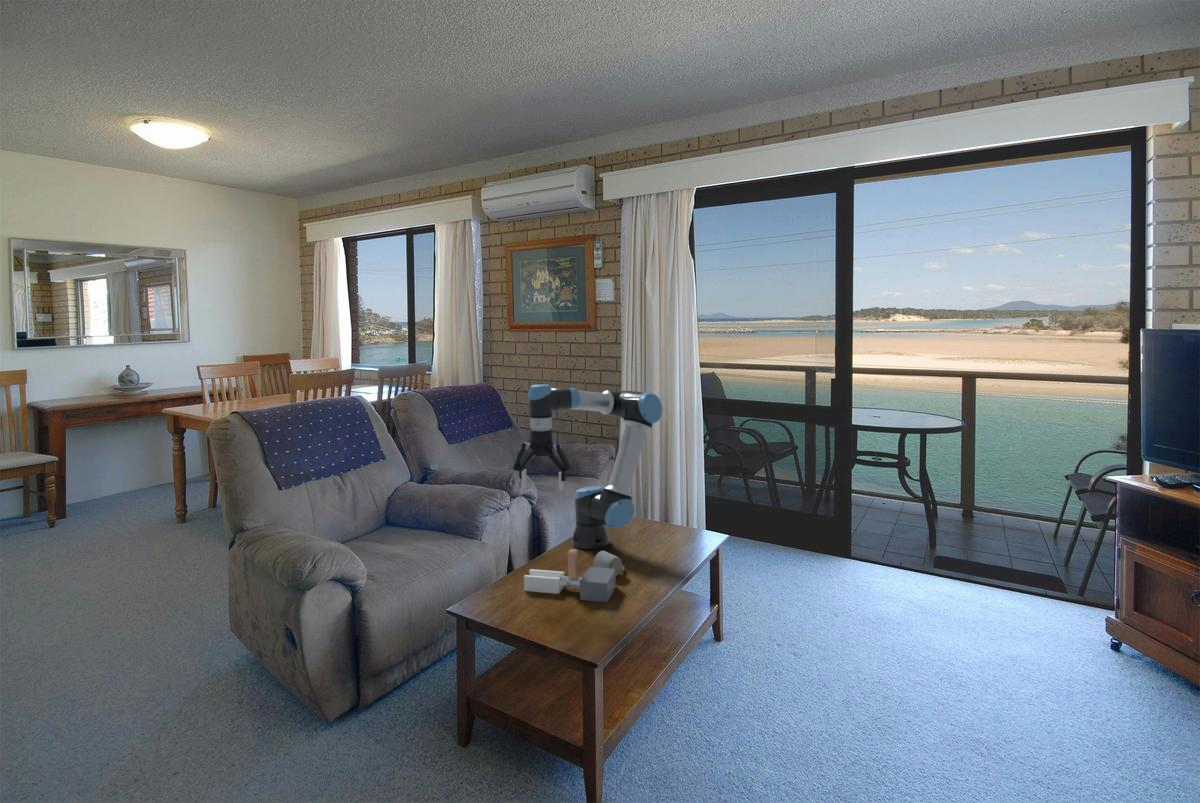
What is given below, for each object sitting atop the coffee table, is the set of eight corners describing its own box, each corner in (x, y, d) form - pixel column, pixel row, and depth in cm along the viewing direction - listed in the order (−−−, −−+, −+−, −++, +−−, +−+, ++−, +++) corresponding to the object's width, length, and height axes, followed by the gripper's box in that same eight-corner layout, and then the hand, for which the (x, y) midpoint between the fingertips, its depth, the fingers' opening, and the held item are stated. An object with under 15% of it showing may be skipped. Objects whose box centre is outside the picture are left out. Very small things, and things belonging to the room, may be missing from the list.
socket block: (589, 584, 208) (589, 566, 207) (615, 586, 206) (615, 568, 205) (580, 599, 196) (579, 581, 195) (607, 602, 194) (607, 583, 193)
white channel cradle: (531, 583, 210) (530, 569, 209) (564, 586, 207) (564, 571, 206) (524, 590, 204) (523, 576, 203) (558, 593, 201) (558, 579, 200)
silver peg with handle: (560, 583, 206) (559, 548, 204) (606, 587, 202) (606, 551, 200) (557, 587, 202) (556, 551, 201) (604, 592, 199) (603, 555, 197)
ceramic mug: (609, 580, 211) (609, 559, 210) (592, 574, 217) (592, 553, 216) (630, 572, 219) (630, 551, 218) (613, 566, 224) (613, 546, 224)
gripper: (503, 430, 211) (505, 490, 214) (572, 431, 206) (574, 493, 208) (511, 426, 219) (513, 485, 221) (578, 428, 213) (579, 488, 215)
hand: (542, 489), depth 214 cm, fingers open, 13 cm apart
